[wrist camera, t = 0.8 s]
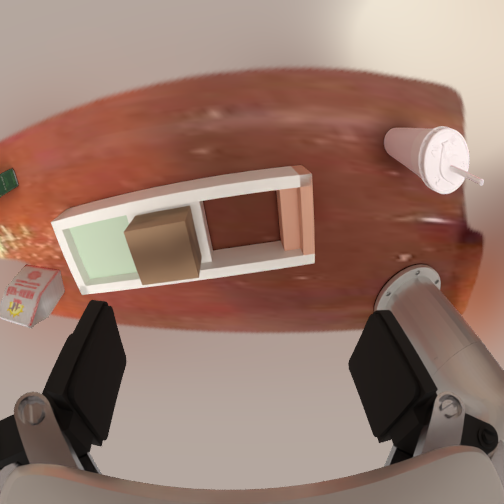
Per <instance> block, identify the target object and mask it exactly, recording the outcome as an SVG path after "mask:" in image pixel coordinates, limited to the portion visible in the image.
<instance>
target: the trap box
mask: <svg viewBox="0 0 504 504" xmlns="http://www.w3.org/2000/svg"><path fill="white" fill-rule="evenodd" d="M273 190H276V194H277V204H278V215H279V227H280V238H281V241H274V242H267V243H261V244H254V245H247V246H240V247H233V248H226V249H220V250H213V249H212V244H211V239H210V234H209V229H208V225H207V220H206V215H205V210H204V205H203V201H204V200H211V199H217V198H223V197H230V196H236V195H243V194H250V193H258V192H265V191H273ZM184 206H190V207H191V212H192V216H193V221H194V225H195V230H196V234H197V239H198V243H199V247H200V252H201V256H202V259H201V267H200V274H199V278H193V279H186V280H179V281H171V282H164V283H156V284H148V285H142V283H141V280H140V278H139V275H138V272H137V270H136V267H135V264H134V261H133V258H132V256H131V253H130V250H129V247H128V244H127V241H126V238H125V235H124V231H125V229H126V228H127V227H128V225H129V224H130V222H131V221H132V220H133V218H134V217H135V216H136V215H141V214H146V213H152V212H157V211H162V210H167V209H173V208H179V207H184ZM51 224H52V226H53V229H54V232H55V234H56V237H57V240H58V242H59V245H60V247H61V250H62V252H63V254H64V257H65V259H66V261H67V264H68V266H69V268H70V270H71V273H72V275H73V277H74V279H75V281H76V283H77V286H78V288H79V290H80V292H81V294H82V295H85V294H94V293H102V292H111V291H119V290H127V289H136V288H144V287H152V286H159V285H167V284H175V283H182V282H190V281H197V280H204V279H212V278H219V277H226V276H233V275H240V274H247V273H254V272H260V271H267V270H274V269H280V268H287V267H293V266H300V265H306V264H313V263H315V249H314V209H313V186H312V173H310V172H309V171H308V170H307V169H306V168H305V167H303V166H302V165H296V166H287V167H278V168H269V169H261V170H254V171H246V172H239V173H232V174H226V175H219V176H213V177H207V178H201V179H195V180H190V181H184V182H179V183H174V184H169V185H164V186H159V187H154V188H149V189H145V190H140V191H135V192H131V193H127V194H122V195H118V196H114V197H110V198H106V199H102V200H98V201H94V202H90V203H87V204H83V205H79V206H76V207H72V208H69V209H66V210H65V211H64V212H63V213H61V214H60V215H59V216H58V217H57V218H55V219H54V220H53V221H52V222H51Z"/></svg>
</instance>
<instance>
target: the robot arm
mask: <svg viewBox="0 0 504 504" xmlns="http://www.w3.org/2000/svg"><path fill="white" fill-rule="evenodd" d="M440 286H441V281H440V277H439V275H438V273H437V272H436V271H435V270H434V269H433V268H432V267H430V266H428V265H422V264H419V265H414V266H411V267H408V268H406V269H404V270H402V271H400V272H399V273H398V274H396V275H395V276H394V277H393V278H392V279H391V280H389V281H388V283H387V284H386V285H385V286H384V287H383V289H382V290H381V292H380V293H379V295H378V297H377V300H376V303H375V306H374V313H373V314H371V315H370V317H369V319H368V321H367V323H366V326H365V328H364V330H363V332H362V335H361V337H360V339H359V341H358V343H357V345H356V347H355V350H354V352H353V354H352V356H351V358H350V360H349V370H350V372H351V375H352V378H353V380H354V383H355V385H356V388H357V391H358V394H359V396H360V399H361V402H362V404H363V407H364V410H365V413H366V415H367V418H368V421H369V424H370V427H371V430H372V432H373V435H374V436H375V437H377V438H378V441H379V443H381V442H384V441H388V440H391V439H392V441H393V446H392V449H391V451H390V454H389V456H388V458H387V461H386V463H385V466H384V467H382V468H379V469H375V470H372V471H368V472H364V473H360V474H356V475H353V476H348V477H344V478H339V479H334V480H329V481H323V482H318V483H311V484H305V485H298V486H289V487H280V488H268V489H250V490H209V489H208V490H207V489H191V488H179V487H170V486H161V485H154V484H148V483H141V482H135V481H129V480H124V479H119V478H115V477H110V476H105V475H102V473H101V472H100V470H99V469H98V467H97V465H96V463H95V462H94V460H93V458H92V457H91V455H90V453H89V452H90V448H91V444H93V445H97V446H102V441H103V440H106V439H107V437H108V432H109V429H110V424H111V420H112V415H113V411H114V407H115V403H116V399H117V395H118V391H119V388H120V384H121V380H122V377H123V373H124V370H125V366H126V355H125V352H124V349H123V345H122V342H121V339H120V335H119V331H118V328H117V324H116V320H115V316H114V312H113V309H112V307H111V306H108V303H107V302H105V301H96V300H91V301H90V302H89V304H88V306H87V308H86V309H85V311H84V313H83V315H82V317H81V319H80V320H79V322H78V325H77V326H76V328H75V330H74V332H73V334H71V335H69V337H68V338H67V340H66V342H65V344H64V346H63V348H62V350H61V352H60V354H59V357H58V359H57V361H56V363H55V365H54V367H53V369H52V372H51V374H50V376H49V379H48V381H47V383H46V386H45V388H44V390H43V393H42V394H40V393H38V392H29V393H26V394H24V395H22V396H21V397H20V398H19V399H18V400H17V402H16V404H15V407H14V415H12V416H9V417H7V418H5V419H3V420H1V421H0V504H504V370H503V369H502V368H501V366H500V365H499V364H498V362H497V361H496V360H495V359H494V357H493V356H492V354H491V353H490V352H489V350H488V349H487V348H486V346H485V345H484V344H483V343H482V341H481V340H480V338H479V337H478V336H477V335H476V334H475V332H474V331H473V330H472V328H471V327H470V326H469V324H468V323H467V322H466V321H465V319H464V318H463V317H462V316H461V314H460V313H459V312H458V311H457V310H456V308H455V307H454V306H453V305H452V304H451V302H450V301H449V300H448V299H447V298H446V297H445V295H444V294H443V293H442V292H441V291H440Z"/></svg>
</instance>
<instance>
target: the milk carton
mask: <svg viewBox="0 0 504 504" xmlns="http://www.w3.org/2000/svg"><path fill="white" fill-rule="evenodd" d="M64 292H65V290H64V286H63V282H62V277H61V273H60V270H56V269H50V268H44V267H38V266H32V265H25V266H24V267H23V269H22V270H21V271H20V272H19V273H18V274H17V275H16V276H15V277H14V279H13V280H12V281H11V282H10V283H9V284H8V286H7V287H6V289H5V292H4V295H3V298H2V301H1V304H0V319H3V320H6V321H9V322H12V323H15V324H19V325H22V326H25V327H29V328H32V327H33V326H34V325H36V324H37V323H39V322H40V321H42V320H44V319H46V318H48V317H49V315H50V314H51V312H52V311H53V309H54V307H55V306H56V304H57V303H58V301H59V299H60V298H61V296H62V295H63V293H64Z"/></svg>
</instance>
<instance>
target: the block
mask: <svg viewBox="0 0 504 504" xmlns="http://www.w3.org/2000/svg"><path fill="white" fill-rule="evenodd" d="M124 235H125V238H126V241H127V244H128V247H129V250H130V253H131V256H132V258H133V261H134V264H135V267H136V270H137V272H138V275H139V278H140V280H141V283H142V285H148V284H156V283H164V282H171V281H179V280H186V279H193V278H199V274H200V267H201V259H202V256H201V252H200V247H199V243H198V239H197V234H196V230H195V225H194V221H193V216H192V212H191V207H190V206H184V207H179V208H173V209H167V210H162V211H157V212H152V213H146V214H141V215H136V216H135V217H134V218H133V220H132V221H131V222H130V224H129V225H128V227H127V228H126V229H125V231H124Z"/></svg>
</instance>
